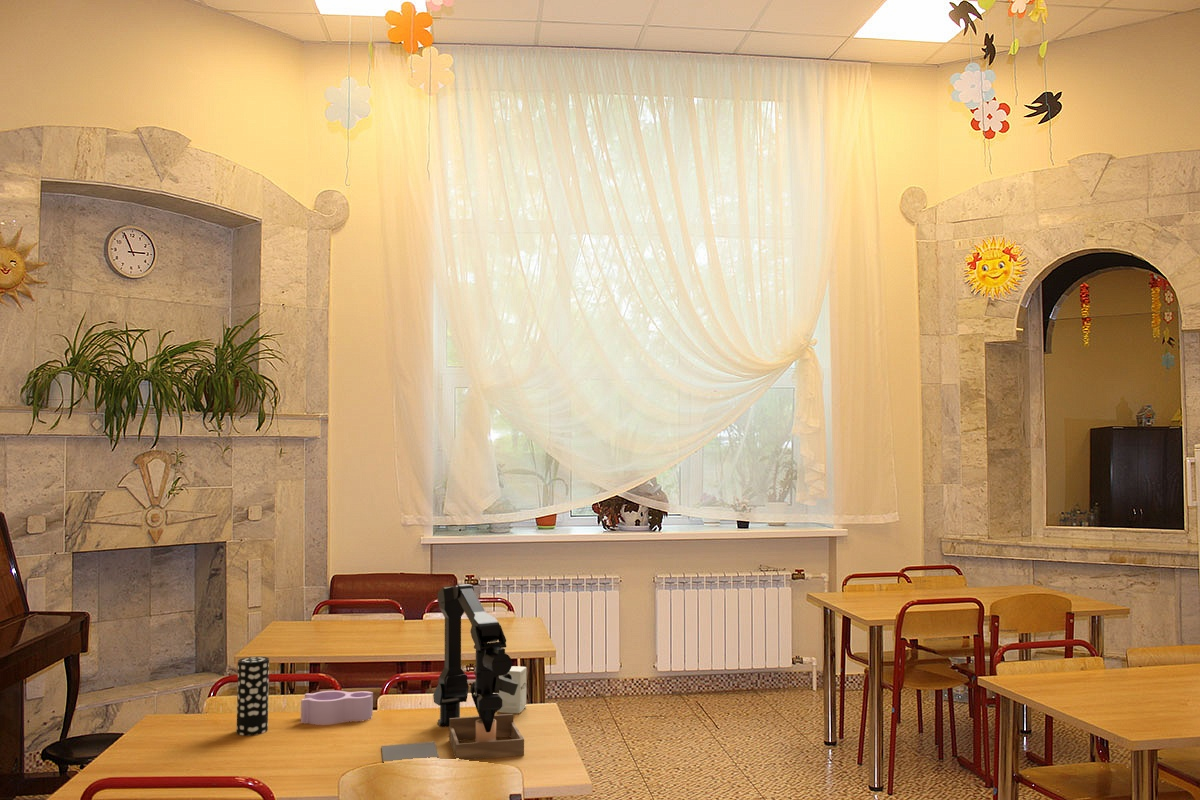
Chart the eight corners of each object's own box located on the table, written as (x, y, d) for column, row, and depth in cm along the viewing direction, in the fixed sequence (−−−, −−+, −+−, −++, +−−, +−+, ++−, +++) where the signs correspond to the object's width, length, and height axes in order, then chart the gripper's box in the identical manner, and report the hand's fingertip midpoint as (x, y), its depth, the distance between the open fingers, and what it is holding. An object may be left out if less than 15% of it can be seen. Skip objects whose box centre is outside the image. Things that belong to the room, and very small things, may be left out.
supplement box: (520, 714, 284) (520, 671, 285) (496, 712, 286) (497, 670, 287) (527, 707, 292) (527, 666, 292) (504, 706, 293) (504, 665, 294)
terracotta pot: (474, 745, 254) (474, 713, 254) (494, 743, 255) (494, 711, 255) (476, 751, 248) (477, 718, 249) (497, 750, 250) (497, 717, 250)
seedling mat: (381, 747, 251) (381, 745, 251) (434, 743, 255) (434, 741, 255) (383, 764, 238) (383, 762, 238) (439, 759, 242) (439, 757, 242)
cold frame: (449, 740, 258) (449, 718, 258) (512, 735, 262) (512, 713, 263) (456, 760, 241) (456, 736, 241) (524, 755, 245) (524, 731, 246)
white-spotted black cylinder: (229, 733, 264) (231, 661, 266) (251, 725, 272) (252, 655, 273) (253, 736, 261) (254, 664, 262) (274, 728, 269) (275, 658, 270)
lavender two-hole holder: (373, 712, 287) (374, 689, 287) (369, 723, 275) (370, 699, 275) (306, 714, 284) (306, 691, 285) (298, 726, 272) (299, 702, 272)
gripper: (521, 674, 246) (521, 734, 245) (510, 659, 264) (509, 715, 263) (479, 676, 243) (478, 738, 242) (470, 661, 261) (470, 718, 260)
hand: (485, 727), depth 252 cm, fingers open, 9 cm apart
